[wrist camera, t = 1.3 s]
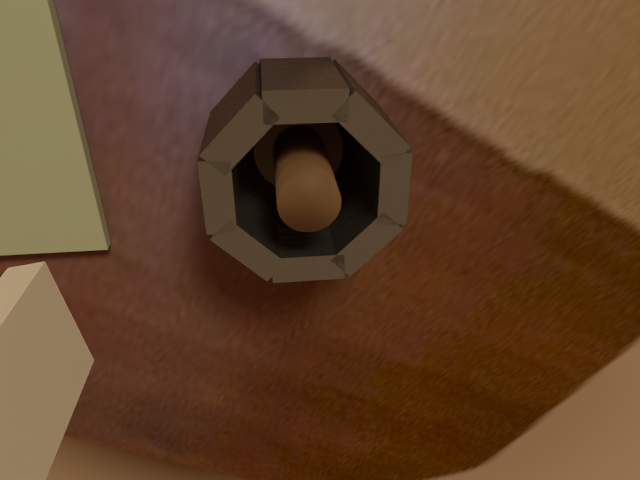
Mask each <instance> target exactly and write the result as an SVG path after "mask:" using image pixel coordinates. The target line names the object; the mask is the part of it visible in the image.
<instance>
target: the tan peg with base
mask: <svg viewBox="0 0 640 480" xmlns="http://www.w3.org/2000/svg"><path fill="white" fill-rule="evenodd" d="M342 156H343V142H342V138H341V135H340V132H339V130H338V127H337V125H336V123H335V122H334V123H305V124H276V125H273V126H272V127H271V128H270V129H269V130H268V131H267V132H266V133H265V134H264V136H263V137H262V138H261V139H260V140H259V141H258V142H257V143H256V144H255V145H254V159H255V162H256V165H257V167H258V169H259V171H260V173H261V174H262V175H263V177H264V178H265V179H266V180H267V181H268V182H269V183H271V184H272V185H274V186H275V187H276V200H277V210H278V213H279V215H280V217H281V219H282V220H283V222H284V223H285V224H286V225H288V226H289V227H290V228H292V229H294V230H297V231H301V232H315V231H319V230H321V229H324V228H326V227H327V226H329V225H330V224H331V223H332V222H333V221H334V220H335V219H336V217H337V216H338V214H339V212H340V208H341V195H340V192H339V189H338V186H337V183H336V180H335V177H334V174H335V172H336V171H337V169H338V167H339V166H340V163H341V160H342Z"/></svg>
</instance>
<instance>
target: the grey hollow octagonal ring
mask: <svg viewBox="0 0 640 480" xmlns="http://www.w3.org/2000/svg"><path fill="white" fill-rule="evenodd" d="M334 122H339V123H340V124H341V125H342V126H343V127H344V128H345V129H346V130H347V131H348V132H349V133H350V134H351V135H352V136H353V137H354V138H355V139H356V143H355V166H354V167H353V168H352V169H351V170H350V171H349V172H348V173H347V174H346V175H345V176H344V177H342V178H341V179H340V180H339V181H338V182H337V186H338V189H339V192H340V195H341V208H340V212H339V214H338V216H337V217H336V219H335V220H334V221H333V222H332V223H331V224H330V225H329V226H327V227H326V228H324V229H321V230H319V231H315V232H301V231H297V230H294V229H292V228H290V227H289V226H288V225H286V224H285V223H284V222H283V220H282V219H281V217H280V215H279V213H278V210H277V200H276V199H275V198H273V197H272V196H271V195H270V194H268V193H267V192H266V191H265V190H264V189H262V188H261V187H260V186H259V185H257V184H256V183H255V182H254V181H253V180H251V179H250V178H249V177H248V176H246V175H245V174H244V173H243V172H242V171H240V160H241V159H242V158H243V157H244V156H245V155H246V154H247V152H248V151H249V150H250V149H251V148H252V147H253V146H254V145H255V144H256V143H257V142H258V141H259V140H260V139H261V138H262V137H263V136H264V134H265V133H266V132H267V131H268V130H269V129H270V128H271V127H272V126H273V125H276V124H305V123H334ZM409 148H411V147H410V146H409V144H408V143H407V142H406V140H405V139H404V138H403V136H402V135H401V134H400V132H399V131H398V130H397V128H396V127H395V126H394V124H393V123H392V122H391V120H390V119H389V118H388V116H387V115H386V114H385V112H384V111H383V110H382V108H381V107H380V106H379V105H378V104H377V103H376V102H375V101H374V100H373V99H372V97H371V96H370V95H369V94H368V93H367V92H366V91H365V90H364V89H363V88H362V87H361V86H360V85H359V84H358V83H357V82H356V81H355V80H354V79H353V78H352V77H351V76H350V75H349V74H348V73H347V71H346V70H345V69H344V68H343V67H342V66H341V65H340V64H339V63H338V62H337V61H336V60H334V61H333V62H332V60H331V59H330V57H324V58H280V59H261V66H260V65H259V64H258V63H257V62H254V63H253V65H252V66H251V67H250V68H249V69H248V70H247V71H246V73H245V74H244V75H243V76H242V77H241V78H240V79H239V80H238V82H237V83H236V84H235V85H234V86H233V87H232V88H231V89H230V91H229V92H228V93H227V94H226V95H225V96H224V97H223V98H222V100H221V101H220V102H219V103H218V104H217V105H216V106H215V108H214V109H213V110H212V111H211V113H210V117H209V119H208V123H207V127H206V130H205V134H204V138H203V141H202V145H201V149H200V152H199V156H198V160H197V166H198V174H199V182H200V189H201V197H202V205H203V213H204V220H205V228H206V235H210V241H212V242H213V243H215V244H216V245H217V246H219V247H220V248H221V249H223V250H224V251H226V252H227V253H228V254H230V255H231V256H233V257H234V258H235V259H237V260H238V261H239V262H241V263H242V264H244V265H245V266H246V267H248V268H249V269H251V270H252V271H253V272H255V273H256V274H257V275H259V276H260V277H262V278H263V279H264V280H266V281H268V280H269V279H270V278H271V277H273V283H282V282H298V281H314V280H330V279H344V276H345V273H346V274H348V275H349V276H351V275H352V274H353V273H354V272H355V271H357V270H358V269H359V268H360V267H361V266H362V265H363V264H365V263H366V262H367V261H368V260H369V259H370V258H371V257H373V256H374V255H375V254H376V253H377V252H378V251H379V250H381V249H382V248H383V247H384V246H385V245H386V244H387V243H389V242H390V241H391V240H392V239H393V238H394V237H395V236H396V235H398V234H399V233H400V232H401V231H402V230H403V228H402V226H401V224H406V221H407V210H408V200H409V189H410V178H411V167H412V156H413V153H412V151H411V150H410V149H409Z"/></svg>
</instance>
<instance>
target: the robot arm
mask: <svg viewBox="0 0 640 480" xmlns="http://www.w3.org/2000/svg"><path fill="white" fill-rule="evenodd" d="M93 362H94V359H93V357H92V355H91V353H90V351H89V349H88V347H87V345H86V343H85V341H84V339H83V337H82V335H81V333H80V331H79V329H78V327H77V325H76V323H75V321H74V319H73V317H72V315H71V313H70V311H69V309H68V307H67V305H66V303H65V301H64V299H63V297H62V295H61V293H60V291H59V289H58V287H57V285H56V283H55V281H54V279H53V277H52V275H51V273H50V271H49V269H48V267H47V265H46V263H45V262H39V263H33V264H28V265H22V266H16V267H11V268H8V269H7V270H6V271H5V272H4V274H3V275H2V276H1V277H0V480H46V478H47V475H48V473H49V470H50V468H51V465H52V462H53V460H54V458H55V455H56V453H57V450H58V448H59V445H60V443H61V441H62V438H63V436H64V433H65V431H66V428H67V426H68V423H69V421H70V418H71V416H72V413H73V411H74V409H75V406H76V404H77V401H78V399H79V396H80V394H81V391H82V389H83V386H84V384H85V381H86V379H87V376H88V374H89V372H90V369H91V367H92V364H93Z"/></svg>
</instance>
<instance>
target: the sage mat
mask: <svg viewBox="0 0 640 480" xmlns="http://www.w3.org/2000/svg"><path fill="white" fill-rule="evenodd" d="M110 244H111V241H110V237H109V233H108V229H107V224H106V220H105V216H104V212H103V207H102V203H101V199H100V195H99V191H98V186H97V182H96V178H95V174H94V170H93V165H92V161H91V157H90V153H89V148H88V144H87V140H86V136H85V132H84V127H83V123H82V119H81V115H80V111H79V106H78V102H77V98H76V94H75V89H74V85H73V81H72V77H71V73H70V68H69V64H68V60H67V56H66V52H65V47H64V43H63V39H62V35H61V30H60V26H59V22H58V18H57V14H56V9H55V5H54V1H53V0H0V256H2V255H20V254H38V253H57V252H75V251H93V250H108V248H109V246H110Z"/></svg>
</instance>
